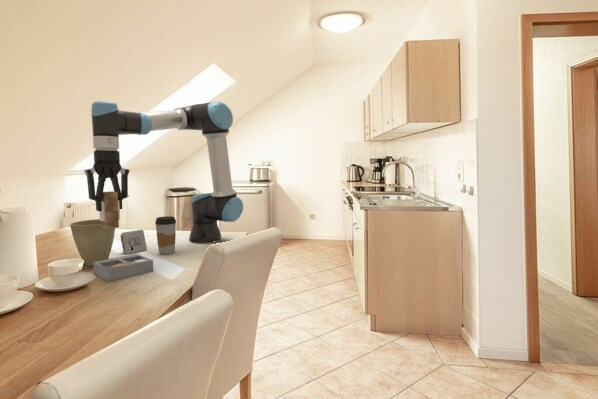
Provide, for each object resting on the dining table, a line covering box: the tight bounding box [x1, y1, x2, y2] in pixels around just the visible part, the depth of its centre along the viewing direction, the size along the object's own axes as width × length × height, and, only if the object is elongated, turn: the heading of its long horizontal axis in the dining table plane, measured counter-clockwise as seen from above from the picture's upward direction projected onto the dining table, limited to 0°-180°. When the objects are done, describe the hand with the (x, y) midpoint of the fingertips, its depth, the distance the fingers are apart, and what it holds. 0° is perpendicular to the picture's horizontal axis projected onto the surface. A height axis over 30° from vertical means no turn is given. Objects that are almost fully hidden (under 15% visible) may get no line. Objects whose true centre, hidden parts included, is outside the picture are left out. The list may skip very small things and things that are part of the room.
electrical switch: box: [120, 229, 148, 255], centre depth 153 cm, size 9×5×9 cm, turn 141°
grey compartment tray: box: [92, 253, 154, 282], centre depth 124 cm, size 15×13×4 cm
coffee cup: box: [154, 215, 177, 255], centre depth 151 cm, size 8×8×15 cm
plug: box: [102, 190, 120, 229], centre depth 120 cm, size 4×4×12 cm
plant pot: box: [69, 218, 116, 267], centre depth 135 cm, size 15×15×16 cm
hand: (110, 219), depth 120 cm, fingers closed on plug, 4 cm apart
